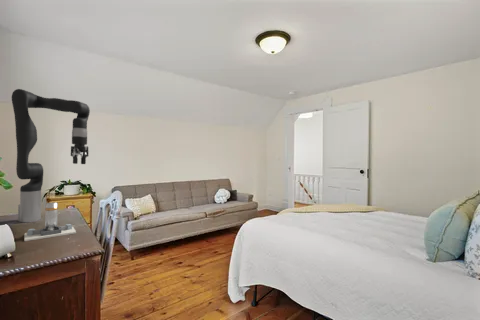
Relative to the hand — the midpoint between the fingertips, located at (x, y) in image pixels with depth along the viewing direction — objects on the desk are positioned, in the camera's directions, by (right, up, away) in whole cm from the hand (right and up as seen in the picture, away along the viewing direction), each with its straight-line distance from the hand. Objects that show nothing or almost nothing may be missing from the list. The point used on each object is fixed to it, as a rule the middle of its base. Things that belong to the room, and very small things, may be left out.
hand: (79, 163), depth 144 cm
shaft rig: (+4, -33, -26) cm, 42 cm away
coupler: (+4, -33, -26) cm, 42 cm away
